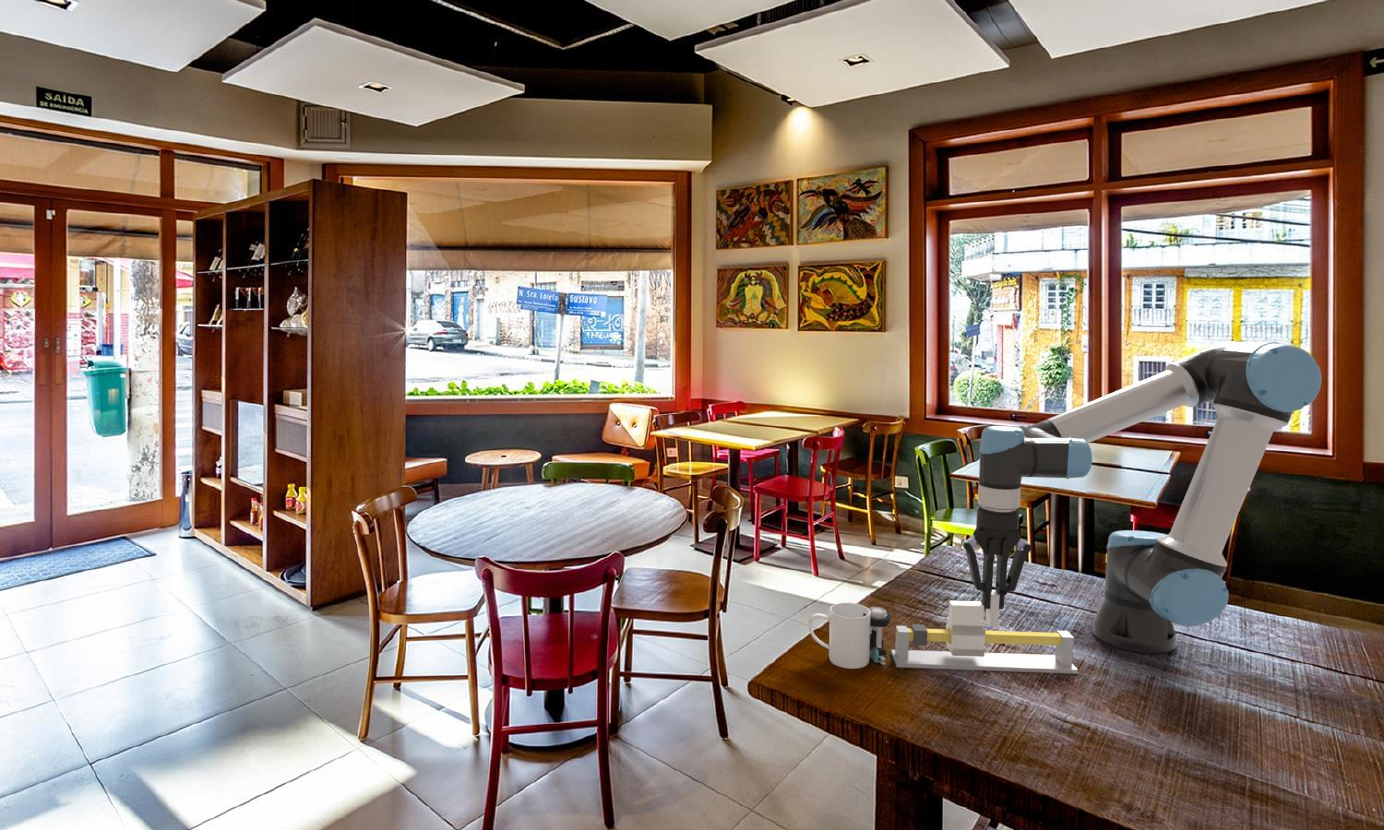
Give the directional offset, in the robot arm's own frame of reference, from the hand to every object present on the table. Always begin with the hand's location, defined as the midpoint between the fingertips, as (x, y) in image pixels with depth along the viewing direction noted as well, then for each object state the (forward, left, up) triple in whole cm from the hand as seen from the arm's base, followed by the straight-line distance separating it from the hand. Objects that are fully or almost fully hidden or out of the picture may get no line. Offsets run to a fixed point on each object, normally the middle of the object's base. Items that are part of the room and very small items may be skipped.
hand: (991, 623), depth 145 cm
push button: (+22, 0, -8) cm, 24 cm away
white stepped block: (+5, 0, -6) cm, 7 cm away
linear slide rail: (+2, 0, -8) cm, 8 cm away
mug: (+30, +1, -8) cm, 31 cm away
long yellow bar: (+2, 0, -4) cm, 5 cm away
